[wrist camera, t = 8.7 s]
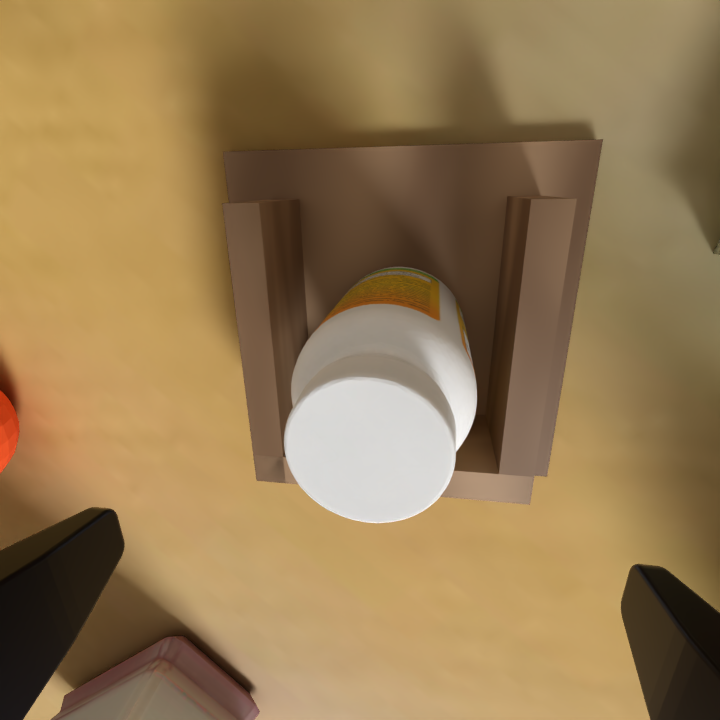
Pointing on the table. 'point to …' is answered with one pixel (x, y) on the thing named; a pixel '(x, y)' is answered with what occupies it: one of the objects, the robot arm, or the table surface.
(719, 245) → the hardcover book
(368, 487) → the supplement bottle
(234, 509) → the table surface
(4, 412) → the clementine
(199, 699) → the bottle
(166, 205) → the table surface
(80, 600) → the robot arm
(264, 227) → the u rest
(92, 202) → the table surface
